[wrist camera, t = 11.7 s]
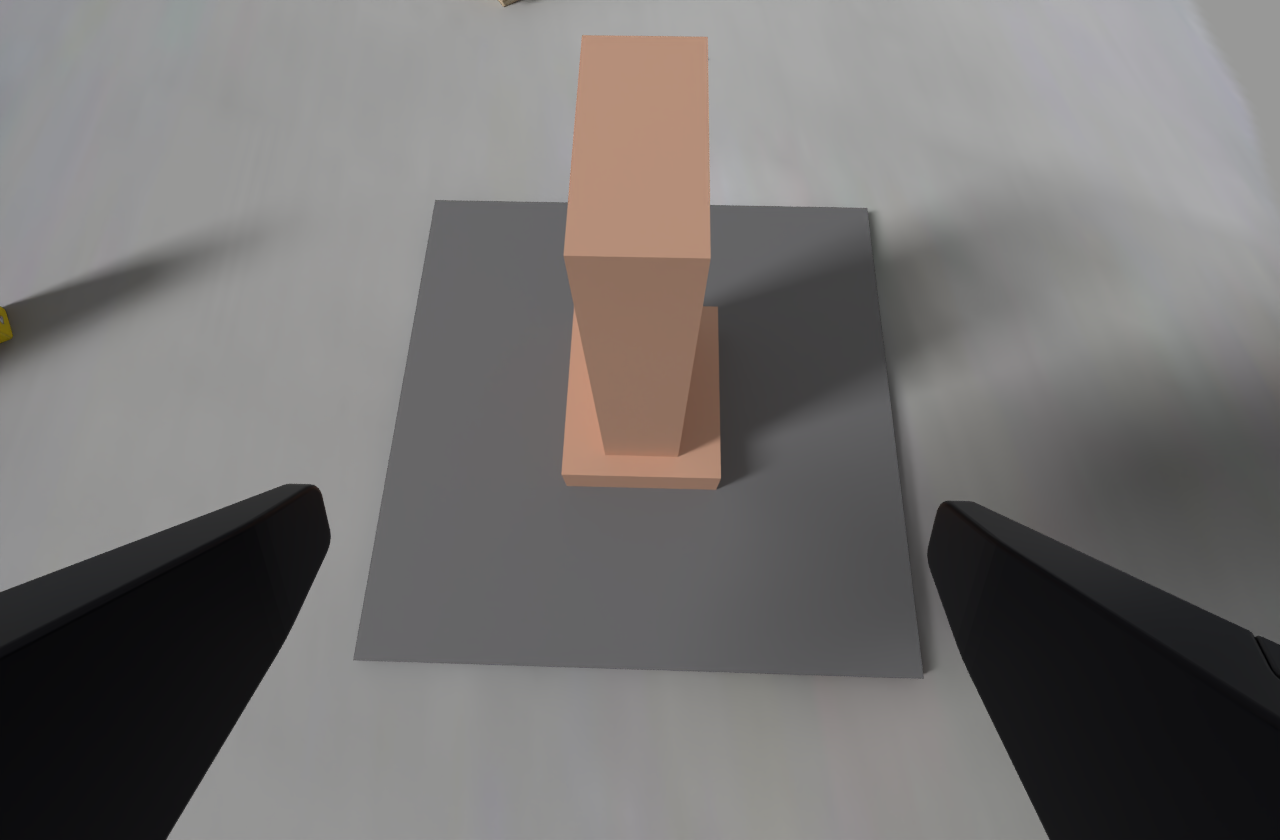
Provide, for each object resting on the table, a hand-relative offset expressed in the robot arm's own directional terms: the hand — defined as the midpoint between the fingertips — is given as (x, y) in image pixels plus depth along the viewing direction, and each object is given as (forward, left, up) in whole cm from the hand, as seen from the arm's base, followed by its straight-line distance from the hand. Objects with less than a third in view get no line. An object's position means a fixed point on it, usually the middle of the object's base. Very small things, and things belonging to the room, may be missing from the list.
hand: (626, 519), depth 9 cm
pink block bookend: (+4, -5, -12) cm, 14 cm away
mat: (+4, -5, -13) cm, 14 cm away
